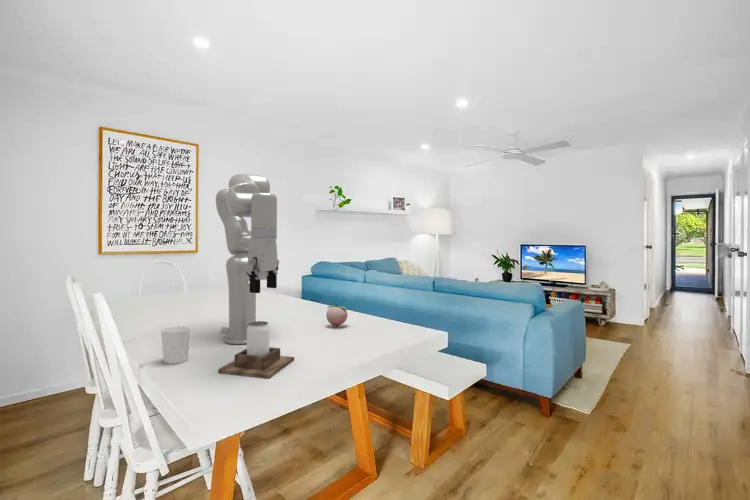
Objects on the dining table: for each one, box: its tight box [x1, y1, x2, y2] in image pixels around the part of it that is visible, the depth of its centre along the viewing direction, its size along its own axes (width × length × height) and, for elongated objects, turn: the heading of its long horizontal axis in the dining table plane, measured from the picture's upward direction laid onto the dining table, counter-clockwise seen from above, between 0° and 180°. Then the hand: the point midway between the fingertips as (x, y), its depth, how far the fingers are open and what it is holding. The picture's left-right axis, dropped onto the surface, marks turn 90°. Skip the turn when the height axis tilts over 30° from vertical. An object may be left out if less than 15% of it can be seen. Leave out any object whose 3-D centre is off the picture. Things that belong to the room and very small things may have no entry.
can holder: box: [217, 346, 295, 379], centre depth 117 cm, size 16×16×4 cm
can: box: [246, 320, 270, 356], centre depth 117 cm, size 6×6×12 cm
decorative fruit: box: [326, 303, 348, 328], centre depth 167 cm, size 9×8×10 cm
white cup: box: [160, 325, 191, 365], centre depth 121 cm, size 8×8×10 cm
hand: (263, 290), depth 119 cm, fingers open, 9 cm apart
